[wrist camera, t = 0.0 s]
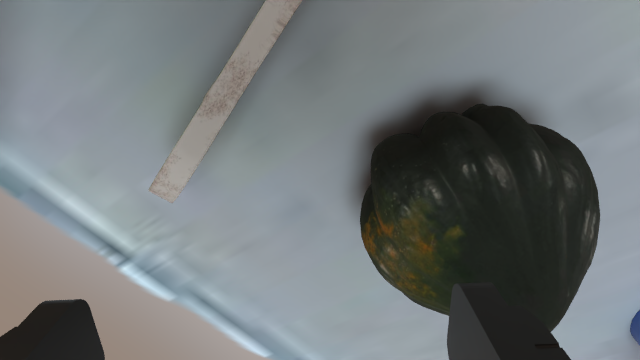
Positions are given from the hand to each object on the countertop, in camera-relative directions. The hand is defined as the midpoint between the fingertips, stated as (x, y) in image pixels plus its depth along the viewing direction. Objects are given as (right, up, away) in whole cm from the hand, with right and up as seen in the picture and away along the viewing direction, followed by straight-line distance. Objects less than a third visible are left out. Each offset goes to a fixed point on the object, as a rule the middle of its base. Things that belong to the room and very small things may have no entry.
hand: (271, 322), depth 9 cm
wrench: (-1, +16, +17) cm, 23 cm away
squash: (+12, +4, +24) cm, 27 cm away
